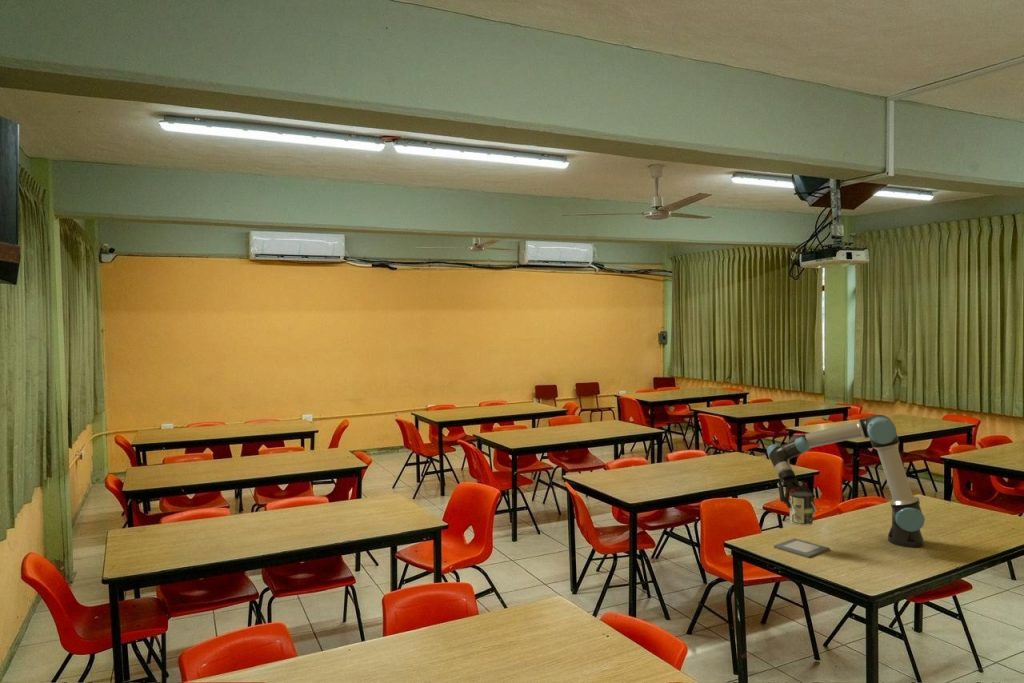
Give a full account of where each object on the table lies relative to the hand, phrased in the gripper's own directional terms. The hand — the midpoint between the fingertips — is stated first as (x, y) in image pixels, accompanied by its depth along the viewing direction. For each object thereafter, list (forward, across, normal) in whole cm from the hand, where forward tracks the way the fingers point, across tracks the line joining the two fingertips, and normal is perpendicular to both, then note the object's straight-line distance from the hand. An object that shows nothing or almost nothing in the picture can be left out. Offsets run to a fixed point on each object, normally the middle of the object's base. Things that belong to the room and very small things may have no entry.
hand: (804, 512), depth 316 cm
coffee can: (+2, 0, -6) cm, 6 cm away
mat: (+11, 0, -15) cm, 18 cm away
